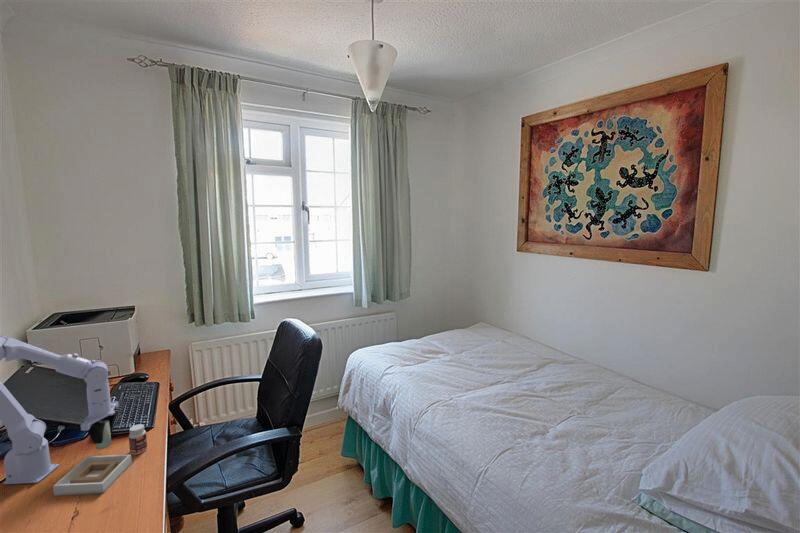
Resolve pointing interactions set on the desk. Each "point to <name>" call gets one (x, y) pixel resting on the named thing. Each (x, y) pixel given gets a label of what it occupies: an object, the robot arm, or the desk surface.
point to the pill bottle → (137, 439)
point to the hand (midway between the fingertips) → (103, 438)
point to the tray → (92, 475)
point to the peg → (105, 436)
